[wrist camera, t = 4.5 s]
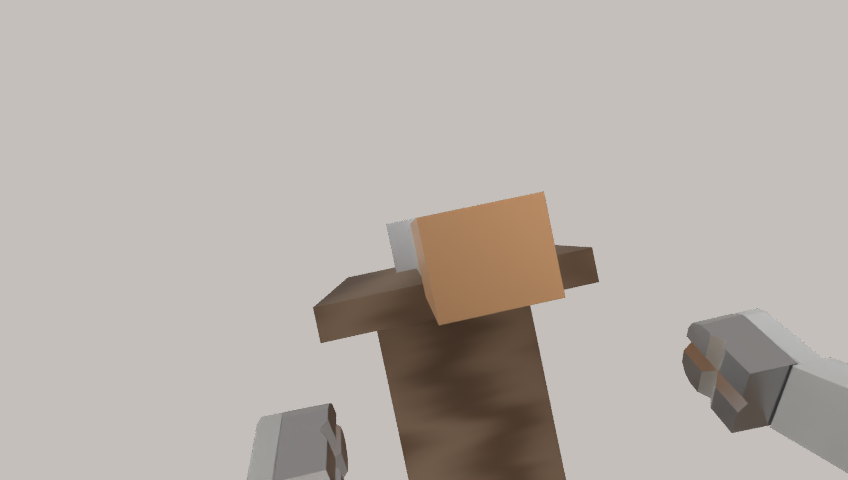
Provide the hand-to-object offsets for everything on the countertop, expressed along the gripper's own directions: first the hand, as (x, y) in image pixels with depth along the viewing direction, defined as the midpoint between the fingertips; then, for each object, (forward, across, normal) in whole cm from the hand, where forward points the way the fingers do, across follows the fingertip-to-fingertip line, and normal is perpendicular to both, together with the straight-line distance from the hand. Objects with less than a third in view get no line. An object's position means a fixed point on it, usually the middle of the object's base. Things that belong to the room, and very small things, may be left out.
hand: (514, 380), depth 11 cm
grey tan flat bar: (+11, 0, +5) cm, 12 cm away
